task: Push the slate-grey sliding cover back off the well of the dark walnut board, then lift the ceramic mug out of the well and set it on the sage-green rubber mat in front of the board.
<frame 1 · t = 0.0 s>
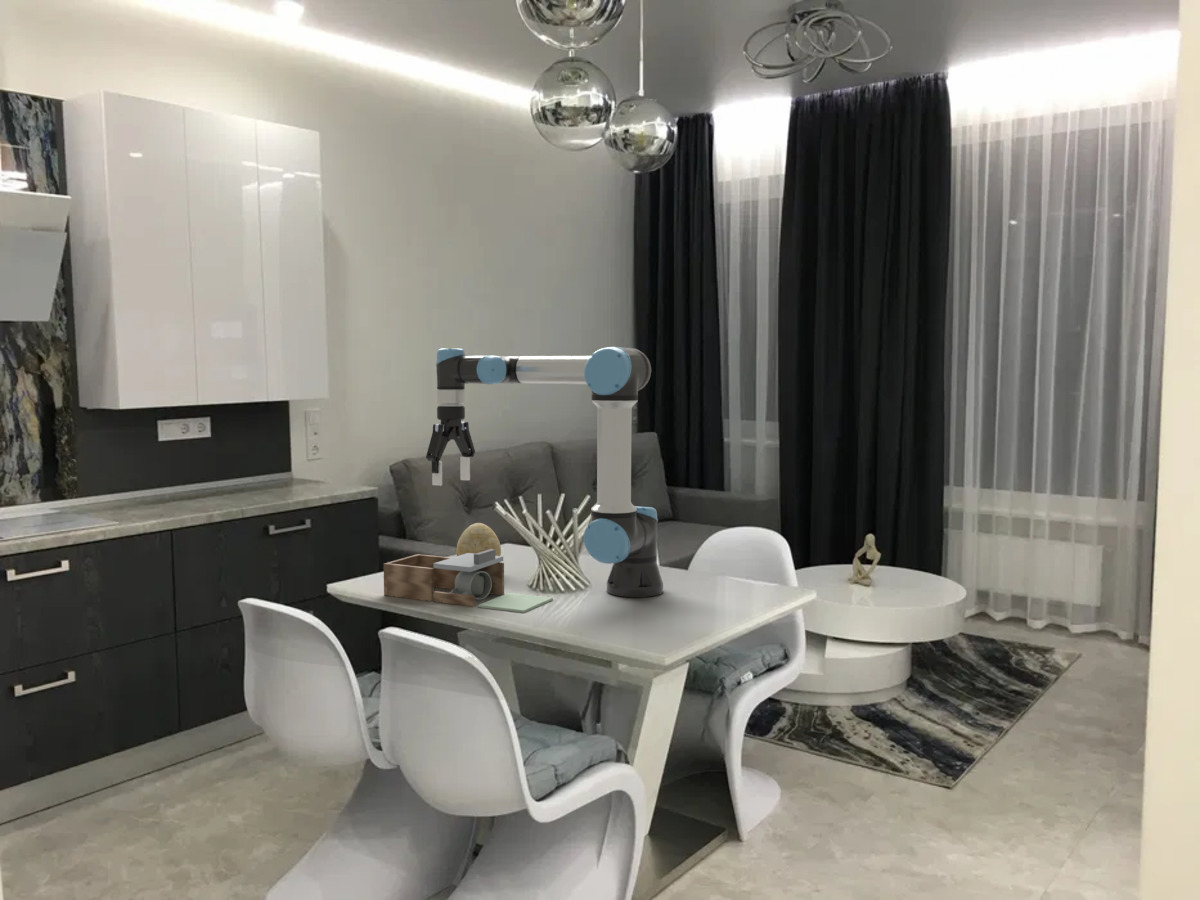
hand: (451, 482, 274), 28 cm above the table, fingers open, 13 cm apart
walnut well board: (469, 597, 259), on the table
sliding cover: (469, 557, 258), point 11 cm above the table, slide at 0.0 cm
ceramic mug: (469, 599, 259), on the table
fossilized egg: (478, 575, 288), on the table
sage mat: (516, 603, 253), on the table
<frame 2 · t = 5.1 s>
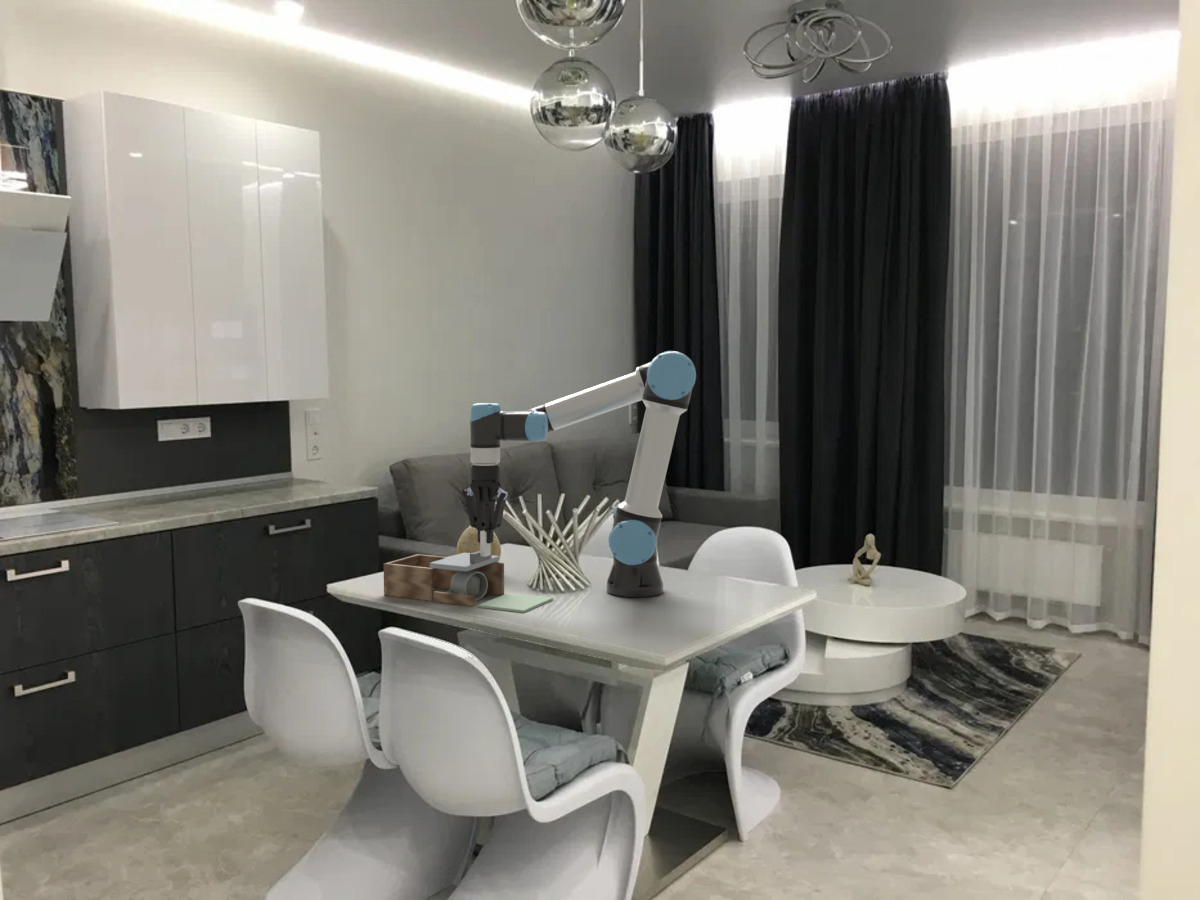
hand: (485, 555, 256), 12 cm above the table, fingers closed
sliding cover: (465, 556, 258), point 11 cm above the table, slide at 1.2 cm, touching gripper
ceramic mug: (464, 599, 258), on the table
everything else where it was.
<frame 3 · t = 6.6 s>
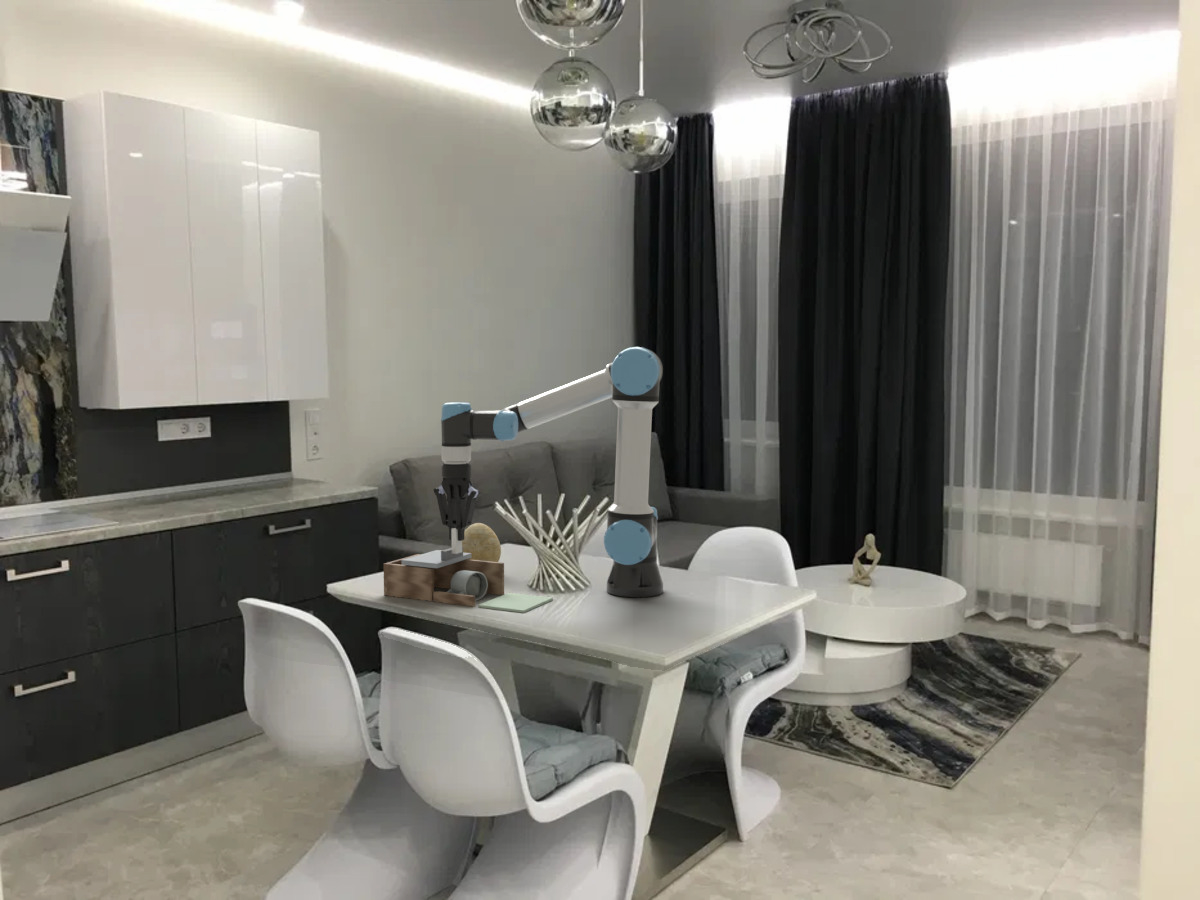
hand: (456, 552, 259), 12 cm above the table, fingers closed
sliding cover: (437, 554, 262), point 11 cm above the table, slide at 9.9 cm, touching gripper
everything else where it was.
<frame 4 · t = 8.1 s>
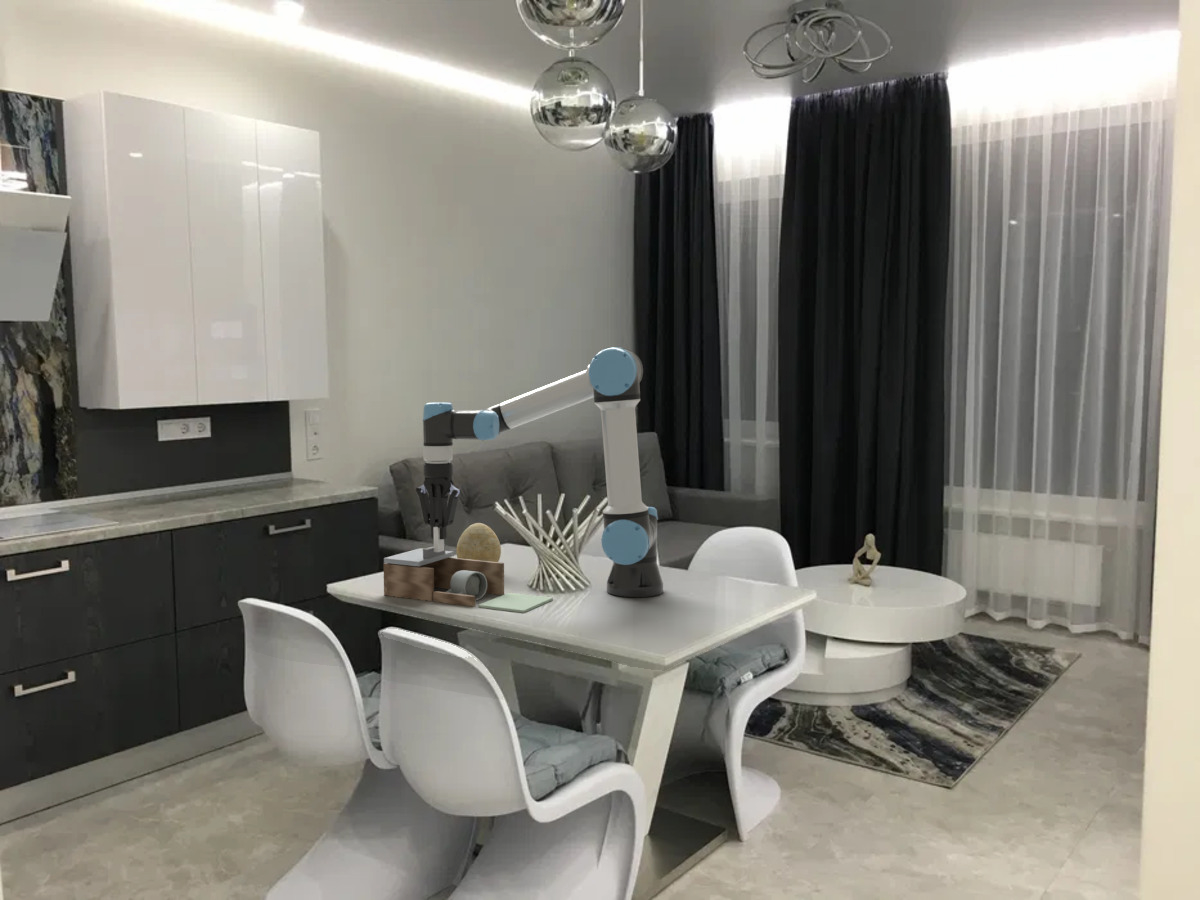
hand: (438, 551, 262), 11 cm above the table, fingers closed
sliding cover: (419, 552, 265), point 11 cm above the table, slide at 15.5 cm, touching gripper
everything else where it was.
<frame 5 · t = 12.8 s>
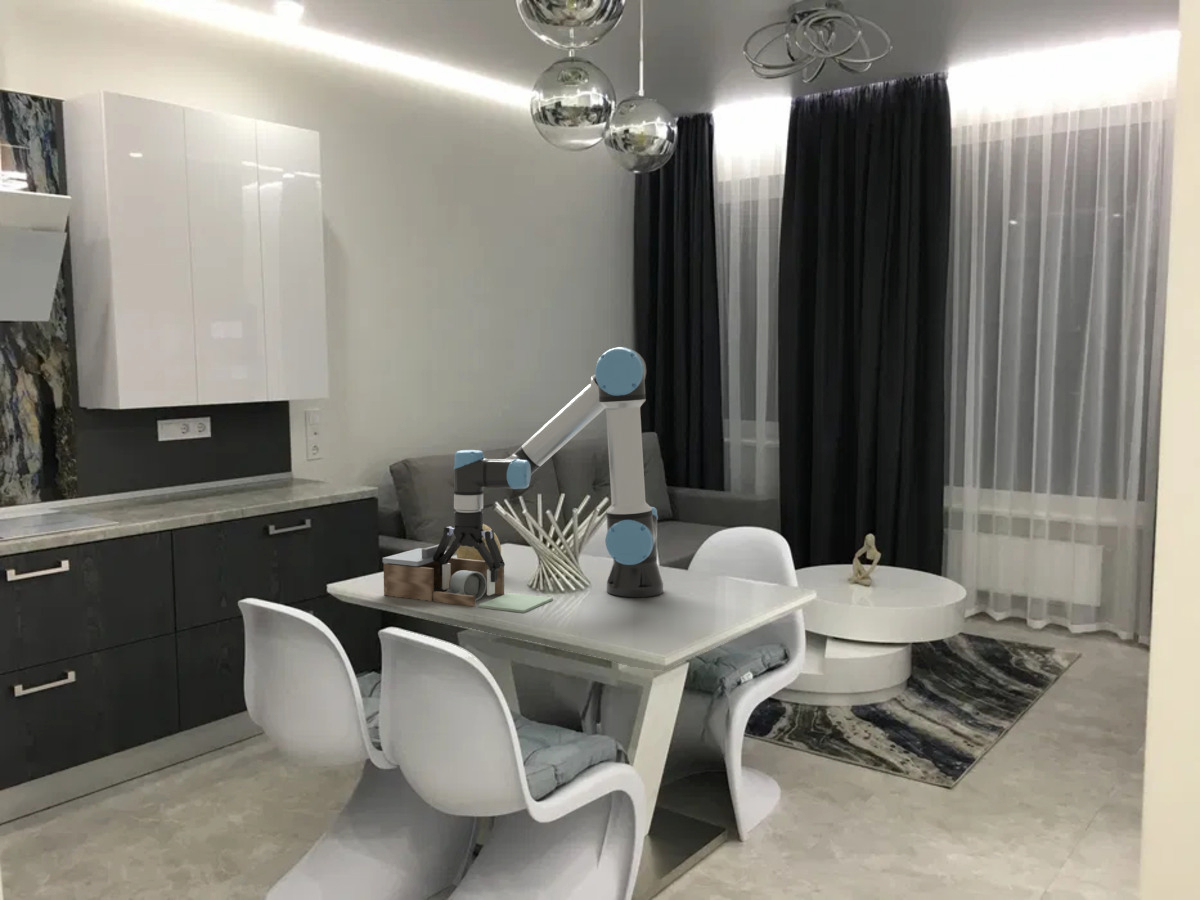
hand: (468, 591, 259), 2 cm above the table, fingers open, 13 cm apart
sliding cover: (418, 552, 265), point 11 cm above the table, slide at 15.9 cm
everything else where it was.
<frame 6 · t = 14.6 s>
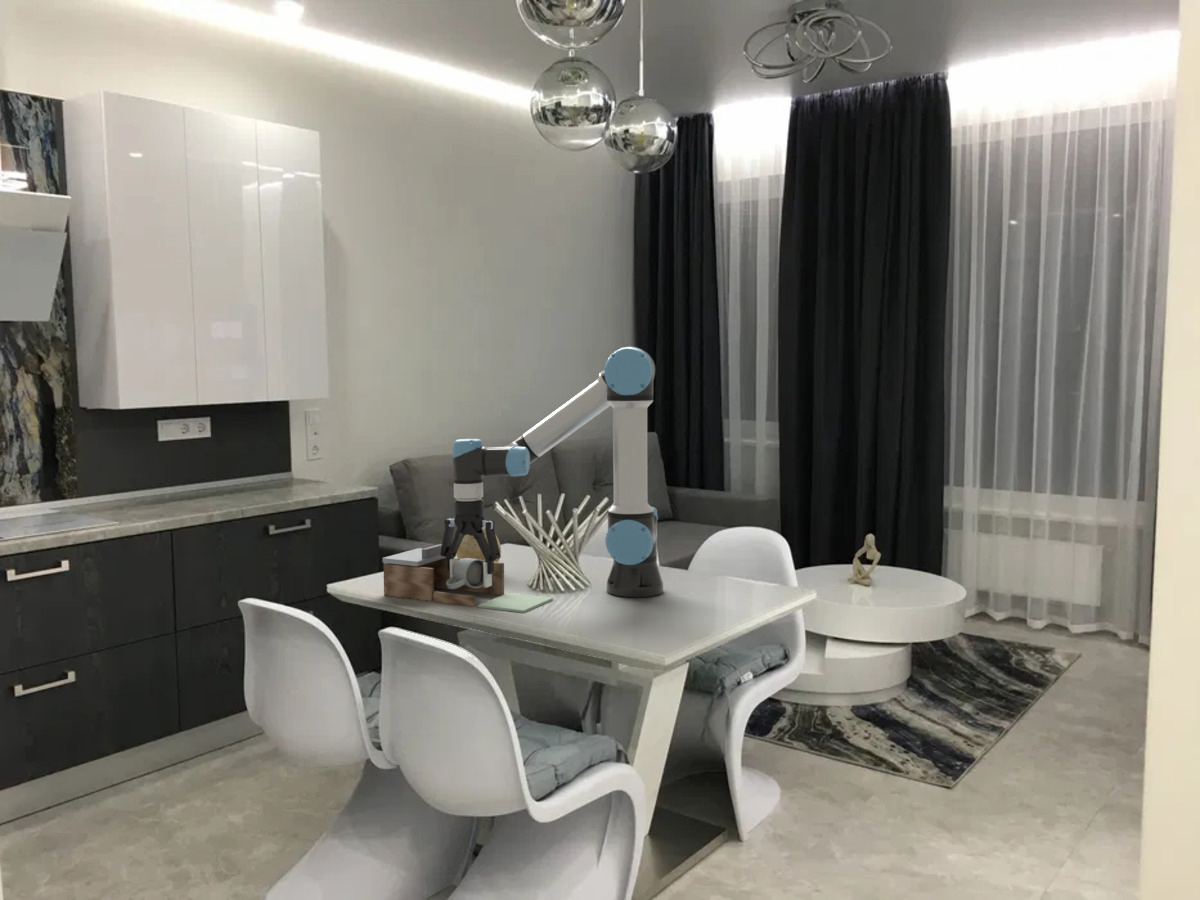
hand: (471, 584, 258), 3 cm above the table, fingers closed on ceramic mug, 9 cm apart
ceramic mug: (466, 587, 257), point 3 cm above the table, touching gripper
everything else where it was.
when the fingers open (2 cm above the table, at t = 20.4 s): ceramic mug stays where it is, resting on sage mat.
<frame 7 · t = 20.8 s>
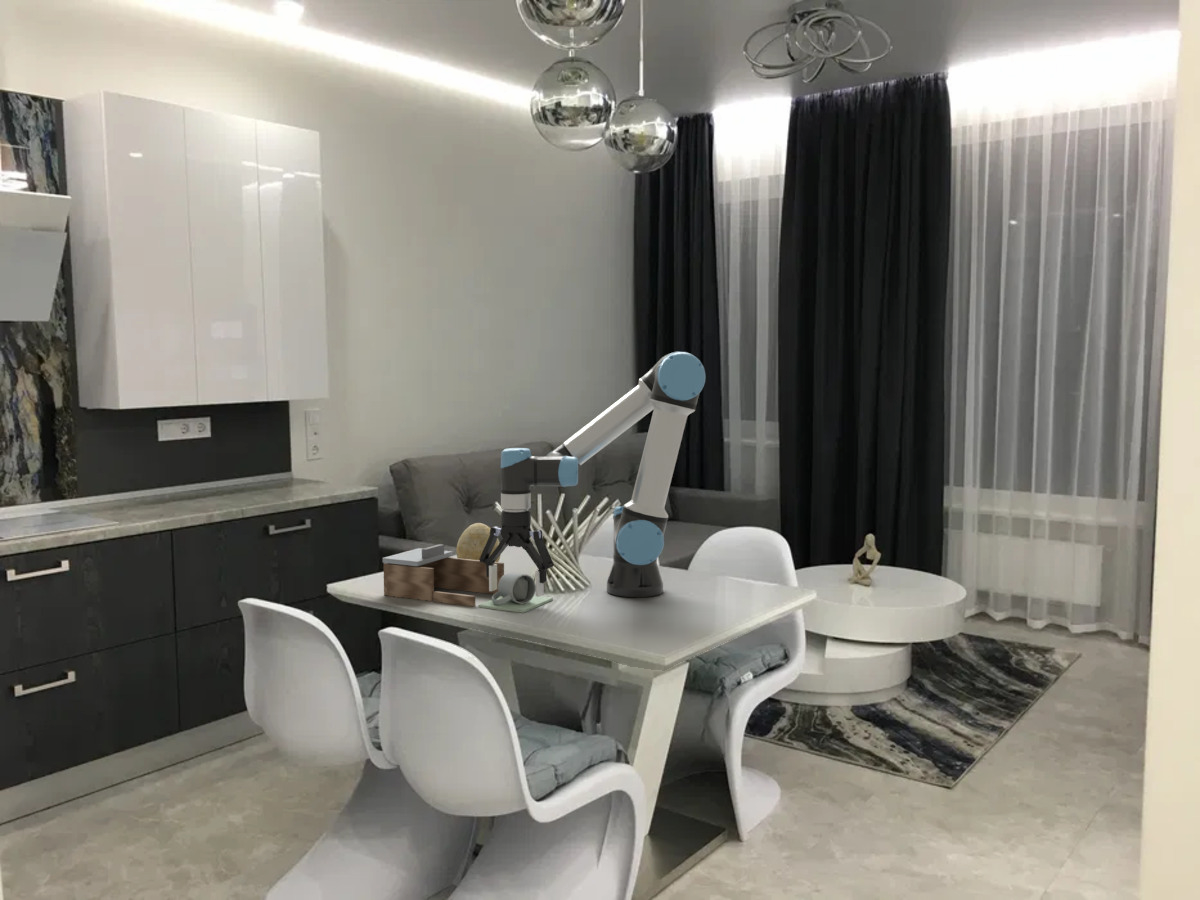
hand: (516, 593, 253), 3 cm above the table, fingers open, 13 cm apart
ceramic mug: (512, 603, 252), resting on sage mat
everything else where it was.
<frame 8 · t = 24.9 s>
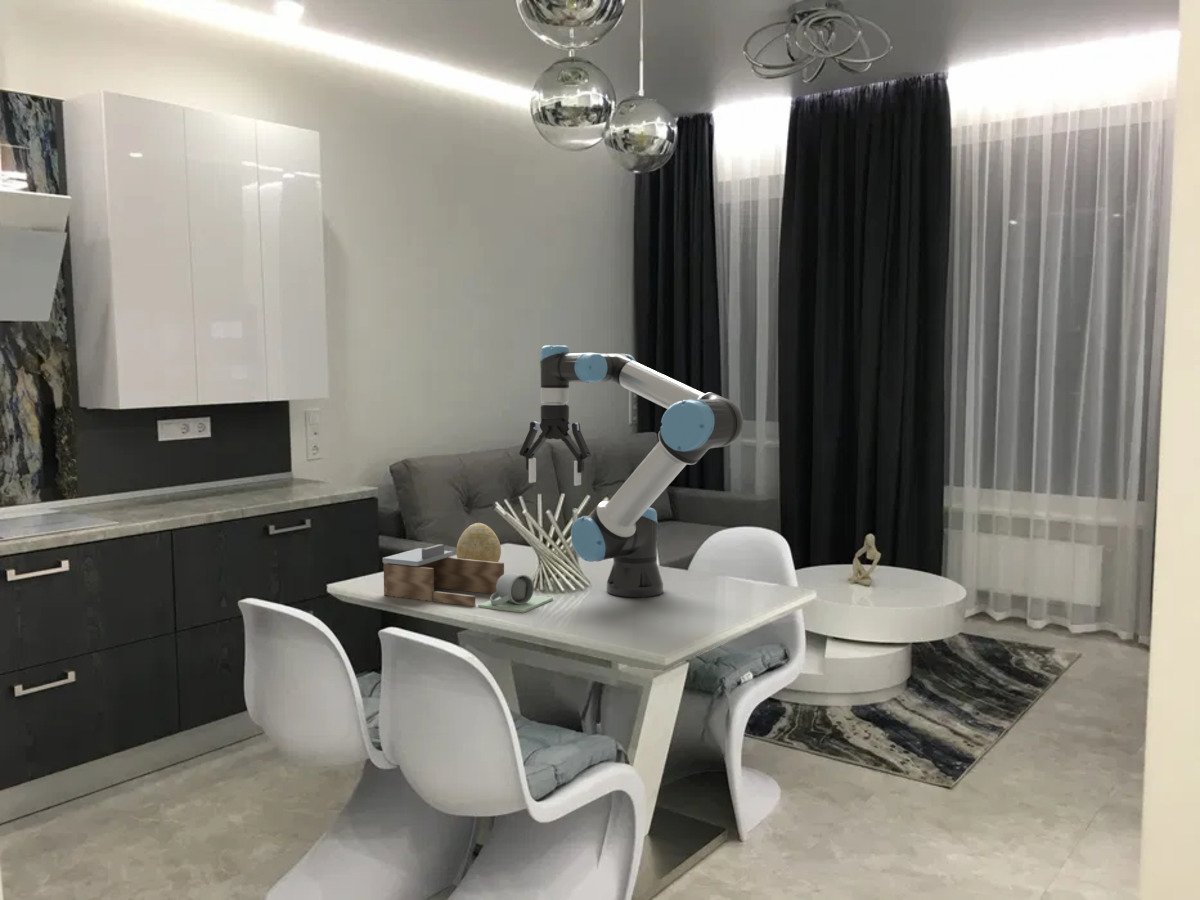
hand: (554, 483, 266), 29 cm above the table, fingers open, 13 cm apart
nothing on the table moved.
at the end: sliding cover slide at 15.9 cm; ceramic mug inside the target area (2.2 cm from its centre), resting on sage mat; ceramic mug tilted 0° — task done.
